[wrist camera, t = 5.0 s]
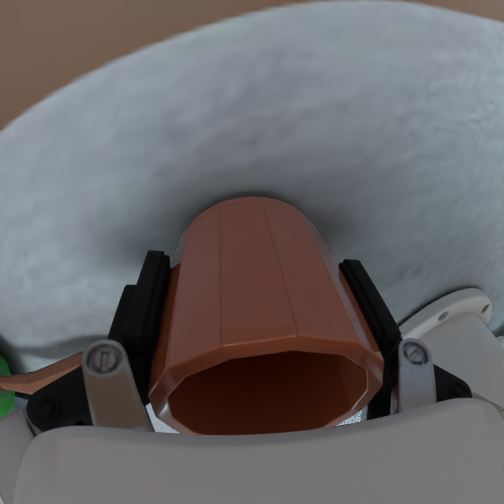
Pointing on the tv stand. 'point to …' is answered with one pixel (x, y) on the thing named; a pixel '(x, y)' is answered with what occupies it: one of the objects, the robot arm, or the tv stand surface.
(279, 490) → the robot arm
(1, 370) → the tree
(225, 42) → the tv stand surface
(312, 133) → the tv stand surface
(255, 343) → the terracotta pot
